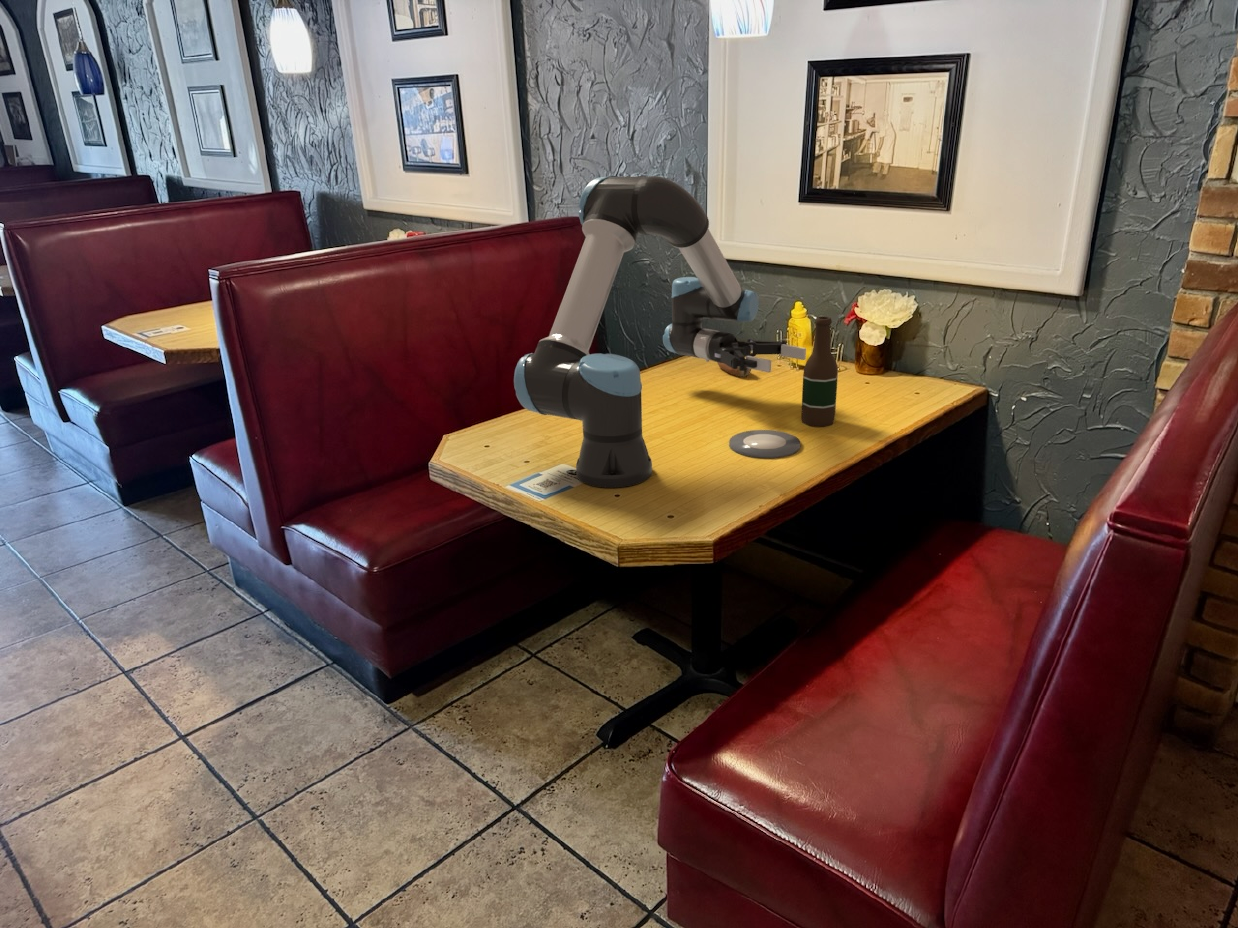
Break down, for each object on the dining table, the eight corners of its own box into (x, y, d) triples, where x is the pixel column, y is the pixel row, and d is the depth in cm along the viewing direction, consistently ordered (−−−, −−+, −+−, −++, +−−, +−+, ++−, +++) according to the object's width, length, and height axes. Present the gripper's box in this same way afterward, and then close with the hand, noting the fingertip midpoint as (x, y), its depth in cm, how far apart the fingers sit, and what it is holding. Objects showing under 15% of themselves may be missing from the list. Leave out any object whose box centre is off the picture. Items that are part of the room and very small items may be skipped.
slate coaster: (772, 463, 170) (772, 459, 170) (714, 446, 181) (714, 442, 180) (814, 443, 180) (814, 439, 180) (757, 428, 190) (758, 424, 190)
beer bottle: (841, 420, 193) (848, 316, 184) (824, 429, 188) (830, 323, 179) (811, 414, 198) (817, 312, 189) (793, 422, 193) (798, 318, 184)
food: (712, 368, 238) (712, 350, 237) (729, 365, 240) (729, 348, 239) (737, 380, 226) (737, 362, 225) (755, 377, 228) (755, 359, 227)
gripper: (747, 351, 218) (817, 364, 204) (682, 371, 202) (754, 388, 188) (748, 322, 215) (819, 334, 201) (682, 341, 199) (755, 355, 185)
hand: (788, 360), depth 194 cm, fingers open, 13 cm apart
